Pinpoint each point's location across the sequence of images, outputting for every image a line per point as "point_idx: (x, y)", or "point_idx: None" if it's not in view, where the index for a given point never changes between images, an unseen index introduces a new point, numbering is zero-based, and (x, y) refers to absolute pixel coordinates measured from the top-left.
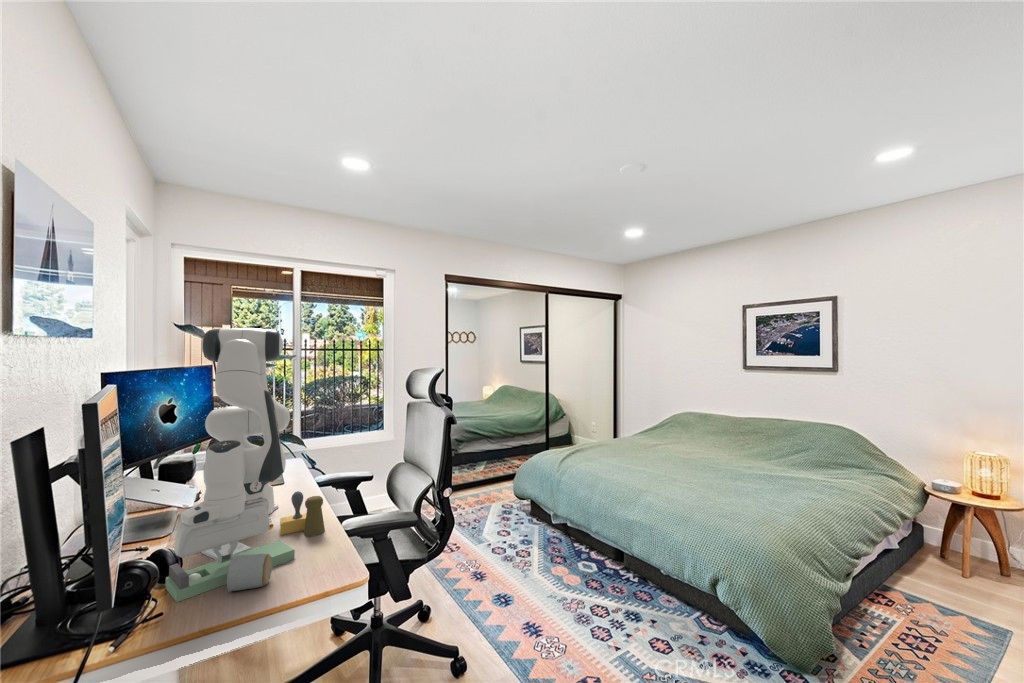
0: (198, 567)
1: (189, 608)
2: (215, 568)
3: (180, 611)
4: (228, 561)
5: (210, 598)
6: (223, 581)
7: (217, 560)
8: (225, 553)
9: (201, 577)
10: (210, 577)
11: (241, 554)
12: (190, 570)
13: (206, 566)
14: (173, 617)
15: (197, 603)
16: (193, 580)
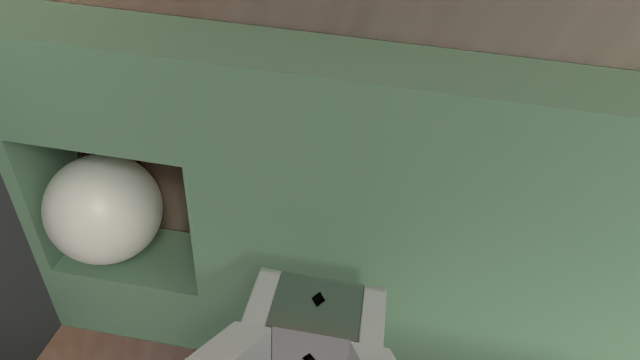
0: (134, 75)
1: (101, 349)
2: (252, 241)
3: (67, 340)
4: (390, 212)
5: (190, 353)
6: None
7: (257, 279)
8: (318, 353)
9: (150, 238)
10: (186, 332)
11: (579, 170)
12: (60, 77)
13: (202, 129)
14: (44, 354)
15: (134, 343)
16: (86, 280)
